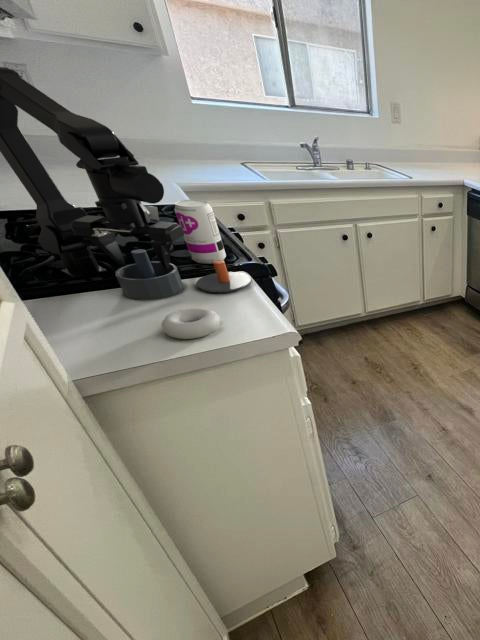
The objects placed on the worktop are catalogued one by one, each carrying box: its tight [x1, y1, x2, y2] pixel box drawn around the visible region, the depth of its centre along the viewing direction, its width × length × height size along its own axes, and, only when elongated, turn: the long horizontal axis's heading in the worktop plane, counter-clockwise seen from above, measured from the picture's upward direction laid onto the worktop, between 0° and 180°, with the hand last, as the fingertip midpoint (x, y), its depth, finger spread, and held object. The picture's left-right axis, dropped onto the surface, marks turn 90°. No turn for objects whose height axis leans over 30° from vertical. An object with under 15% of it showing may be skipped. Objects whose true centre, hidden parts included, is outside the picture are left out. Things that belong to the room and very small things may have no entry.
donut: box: [161, 307, 221, 340], centre depth 86 cm, size 10×4×10 cm
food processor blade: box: [130, 248, 156, 279], centre depth 96 cm, size 7×4×9 cm, turn 7°
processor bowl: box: [114, 260, 185, 301], centre depth 97 cm, size 11×11×5 cm
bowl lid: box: [196, 260, 253, 293], centre depth 103 cm, size 12×12×6 cm
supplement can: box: [174, 199, 227, 265], centre depth 111 cm, size 8×8×15 cm
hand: (145, 266), depth 95 cm, fingers open, 9 cm apart
